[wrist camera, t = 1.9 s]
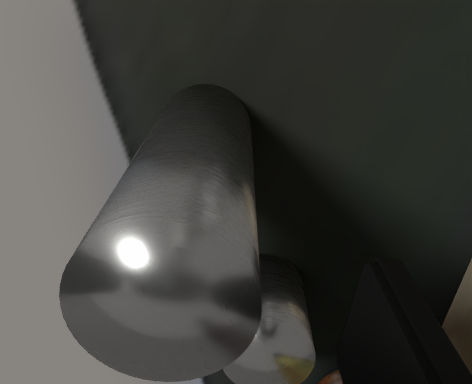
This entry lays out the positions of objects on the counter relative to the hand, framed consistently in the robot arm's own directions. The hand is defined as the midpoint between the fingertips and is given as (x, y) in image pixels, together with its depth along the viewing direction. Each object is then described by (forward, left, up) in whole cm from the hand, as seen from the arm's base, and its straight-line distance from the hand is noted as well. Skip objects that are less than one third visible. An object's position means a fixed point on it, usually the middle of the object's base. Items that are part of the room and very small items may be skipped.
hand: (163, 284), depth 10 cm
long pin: (-1, 0, -11) cm, 11 cm away
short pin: (+7, +4, -11) cm, 14 cm away
